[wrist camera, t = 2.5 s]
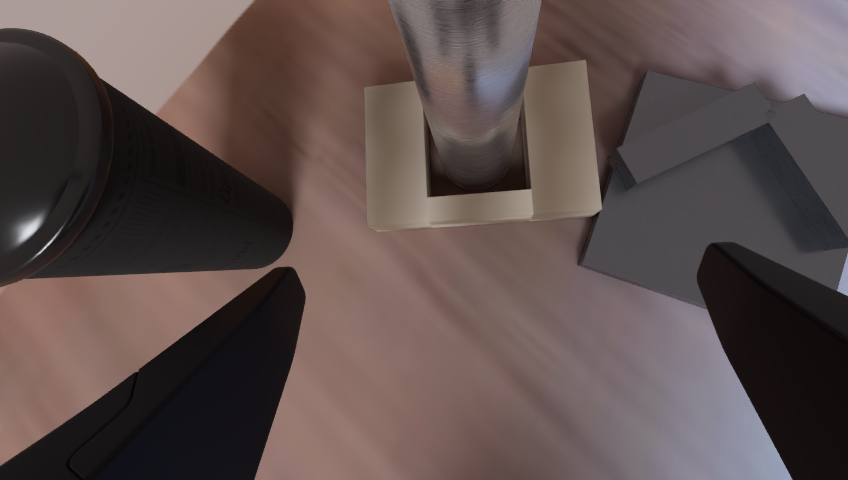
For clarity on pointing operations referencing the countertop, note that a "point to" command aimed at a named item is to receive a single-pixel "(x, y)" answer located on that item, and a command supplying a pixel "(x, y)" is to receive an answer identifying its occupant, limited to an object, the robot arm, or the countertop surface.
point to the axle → (470, 78)
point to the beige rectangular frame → (543, 200)
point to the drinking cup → (113, 180)
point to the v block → (720, 186)
